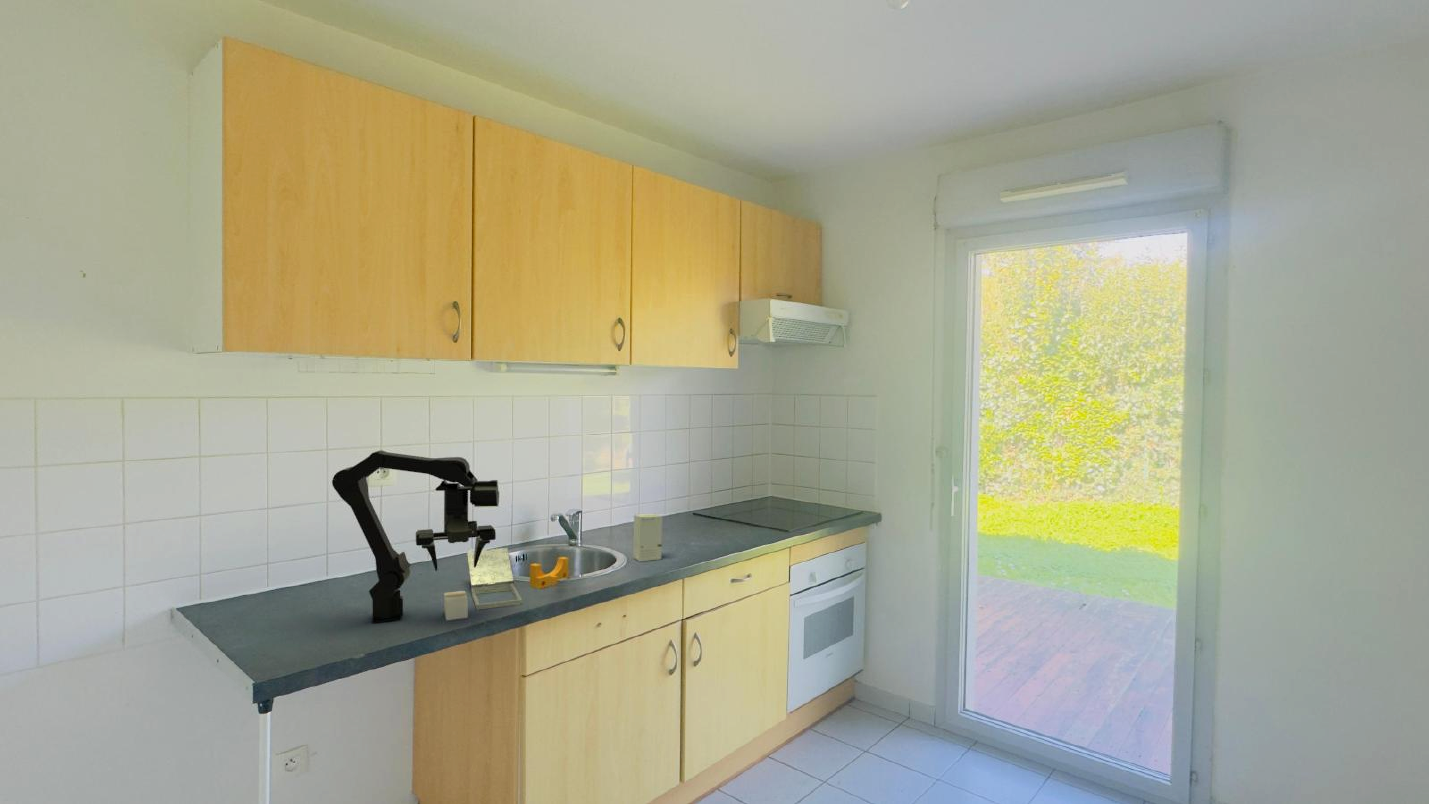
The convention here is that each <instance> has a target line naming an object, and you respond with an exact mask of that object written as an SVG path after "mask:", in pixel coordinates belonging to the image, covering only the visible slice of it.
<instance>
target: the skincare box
mask: <svg viewBox="0 0 1429 804" xmlns="http://www.w3.org/2000/svg"><path fill="white" fill-rule="evenodd" d="M662 535H663V515H661V514H658V513H640V514H638V513H637V514H634V515H633V553H632V554H633V556H632V557H633V559H635V560H636V561H637V562H639V563H641V562H649V561H656V560H657V561H658V560H661V559H662V547H663V546H662V543H663V542H662V539H663V536H662Z"/></svg>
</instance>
